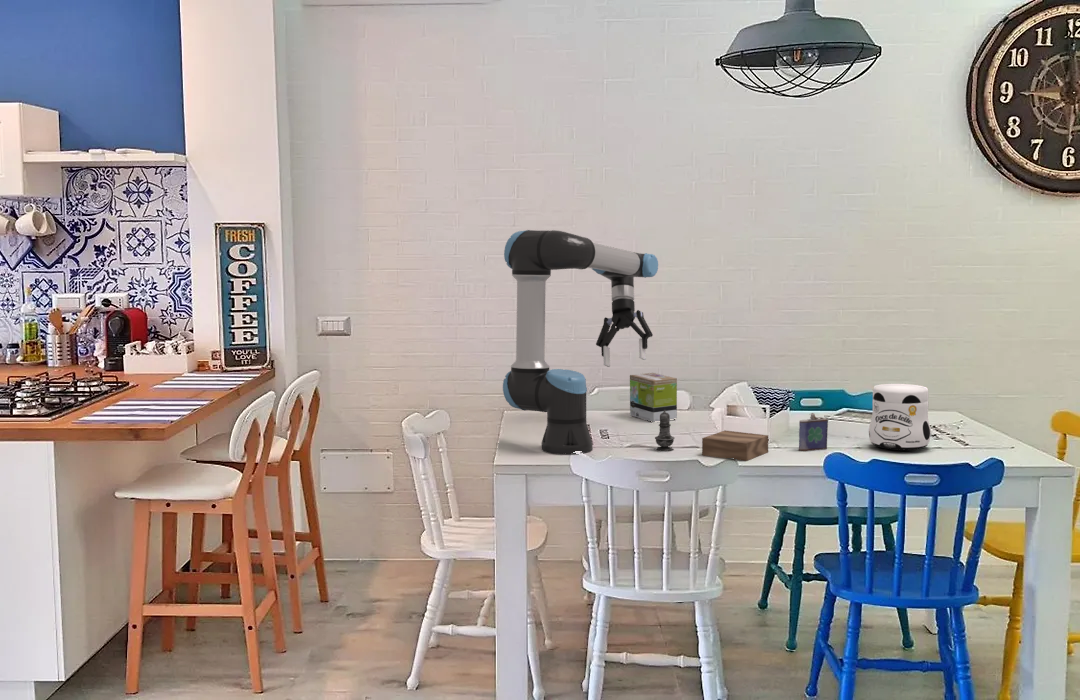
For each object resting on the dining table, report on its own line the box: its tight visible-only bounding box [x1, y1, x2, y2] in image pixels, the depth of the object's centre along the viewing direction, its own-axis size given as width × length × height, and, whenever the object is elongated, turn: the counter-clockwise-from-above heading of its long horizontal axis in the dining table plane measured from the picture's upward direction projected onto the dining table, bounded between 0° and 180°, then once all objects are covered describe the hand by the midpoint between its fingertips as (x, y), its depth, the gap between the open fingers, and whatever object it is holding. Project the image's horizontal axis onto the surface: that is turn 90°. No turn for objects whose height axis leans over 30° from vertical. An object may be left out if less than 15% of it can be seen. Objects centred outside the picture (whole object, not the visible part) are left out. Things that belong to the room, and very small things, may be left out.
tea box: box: [629, 372, 678, 423], centre depth 378 cm, size 15×10×15 cm, turn 28°
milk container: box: [868, 383, 932, 451], centre depth 325 cm, size 17×17×18 cm
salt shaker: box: [654, 410, 676, 452], centre depth 326 cm, size 6×6×12 cm
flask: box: [798, 412, 829, 452], centre depth 324 cm, size 9×3×11 cm, turn 109°
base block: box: [701, 429, 769, 462], centre depth 320 cm, size 14×14×5 cm
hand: (624, 362), depth 361 cm, fingers open, 13 cm apart
